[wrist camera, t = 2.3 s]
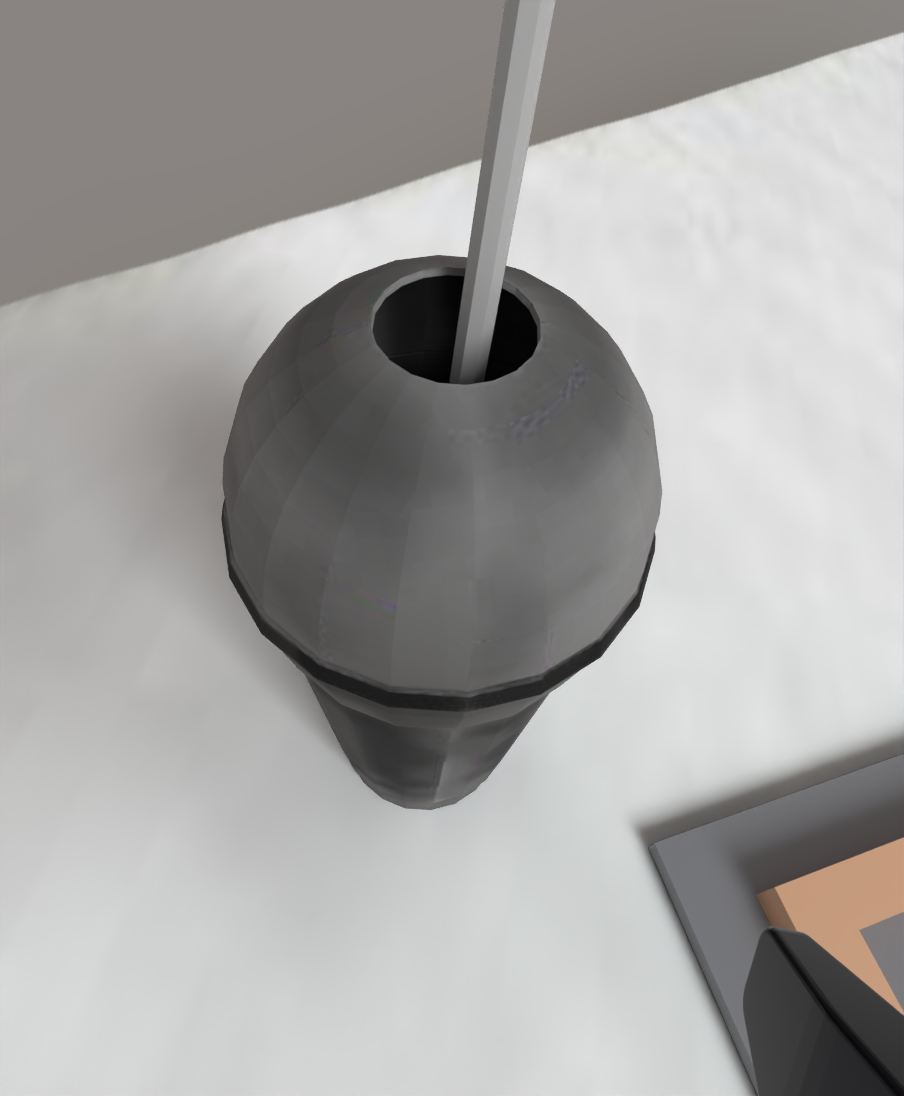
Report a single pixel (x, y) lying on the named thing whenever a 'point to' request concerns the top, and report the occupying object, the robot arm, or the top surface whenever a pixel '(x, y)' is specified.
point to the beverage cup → (444, 486)
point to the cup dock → (796, 884)
